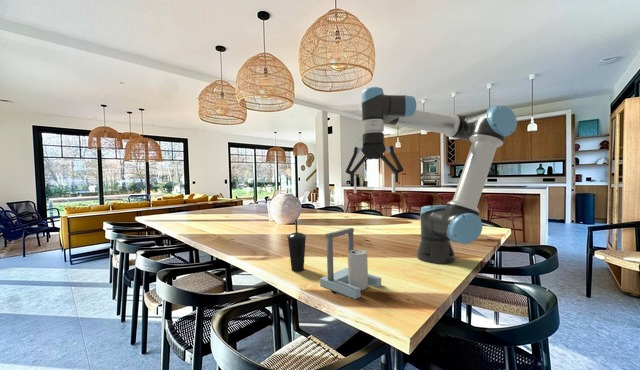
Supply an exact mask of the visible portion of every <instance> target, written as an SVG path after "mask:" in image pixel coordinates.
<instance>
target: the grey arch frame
mask: <svg viewBox="0 0 640 370" xmlns="http://www.w3.org/2000/svg"><path fill="white" fill-rule="evenodd" d="M354 232H355V229H354V227H347V228H344V229H340V230H336V231H332V232H328V233H327V232H326V234H325V239H326V260H327V261H326V262H327V263H326V265H327V269H326V270H327V275H325V276H323V277H321V278H319V283H320V284H319V285H320V287H323V288H324V289H328V290H329V291H333V292H335V293H338V294H341V295H344V296H346V297H349V298H352V299H354V300H358V298H361V291H360V288H358V287H355V286H352V285H349V281H348V267H345V268H343V269H340V270H337V271H335V272H334V246H333V245H334V244H333V243H334V242H333V241H334V238H337V237H341V236H345V235H347V253H348V254H349V251H351V250H355V246H354V244H355V243H354ZM348 254H347V255H348ZM368 286H372V287H374V288H378V287H380V286H382V277H380V276H377V275H372V274H369V273H368Z"/></svg>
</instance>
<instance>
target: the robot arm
mask: <svg viewBox="0 0 640 370" xmlns="http://www.w3.org/2000/svg"><path fill="white" fill-rule="evenodd" d="M361 117H362V118H361V119H362V120H361V123H362V125H361V127H362V129H361V131H362V133H363V134H362V146H361V147H358V146H355V147H354V148H353V154H352V157H351V159H350V160H349V163H348V165H347V167H346V169H345V173H346V174H348V175H350V184H352V185H353V194H357V174H355V173H356V172H357V170H358V169H359V168H360V167H361V166H362V165H363V164H364V162H365V161H366V160H367V159H368V160H379V159H380V160H381V161H383V163H384V164H385V165H386V166H387V168H389V169H390V170H391V172H392V173H391V192H392V193H396V183H398V182H399V173H401V172H404V168H403V166H402V164H401V162H400V160H399V158H398V156H397V155H396V152H395V149H394V146H393V145H390V146H385V134H384V133H383V132H384V131H385V129H384V126H385V125H390V126H396V127H401V128H409V129H412V130H413V129H414V130H420V131H425V132H431V133H438V134H444V135H445V136H446V137H448V138H452V139H457V140H464V141H469V142H470V143H471V145H470V148H469V151H468V154H467V157H466V161H465V162H464V163H465V164H464V166H463V169H462V172H461V175H460V177H459V180H458V183H457V186H456V190H455V192H454V195H453V198H452V200H450V201H447V203H446V204H445V205H444V204H440V205H425V206H422V207H421V208H420V214H419V215H420V242H419V245H418V247H417V249H416V250H417V251H416V258H417V259H418V260H420V261H422V262H426V263H432V264H450V263H453V262H455V261H456V255H455V251H454V248H453V246H452V243H451V242H453V243H456V244H461V245H467V244H470V243H472V242H475V241H476V240H478V238H479V237H480V236H481V234H482V231H483V224H482V219H481V217H479V216H480V213H481V212H480V210H479V208H478V206H479V205H478V204H479V202H480V199H481V195H482V192H483V191H484V187H485V184H486V182H487V181H486V180H487V178H488V175H489V173H490V169H491V166H492V163H493V161H494V157H495V154H496V151H497V148H500V147H502V146H503V145H504V142H505V140H506V137H508V136H510V135H512V134H514V132H516V130H517V126H518V119H517V116H516V115H515V113H514V111H513V110H512V109H511V108H510V107H509V106H506V105H497V106H496V105H495V106H490V107H488V108H485V109H482V110H478V111H476V112H472V113H469V114H460V115H459V114H451V115H446V114H440V113H436V112H435V113H434V112H428V111H425V110H424V111H423V110H419V109H418V110H417V100H416V98H415V97H414V96H412V95H406V94H403V95H402V94H401V95H399V94H398V95H397V94H390V95H389V94H385V93H384V89H383V88H381V87H378V86H372V87H367V88H365V89H363V90H362V93H361ZM386 151H387V153H389V155H390V156H391V159H392V161H393V163H394V164H395V166H396V167H395V166H394V165H393V164H392V162H391V161H390V160H389V159H388V158H387V157H386V155H384V153H385V152H386ZM360 152H361V153H362V154H363V156H362V158H361V159H360V160H359V161H358V163H357V164H356V165H355V166H354V167H353V169H352V166H353V164H354V162H355V160H356V158H357V155H358V154H360ZM351 169H352V170H351Z"/></svg>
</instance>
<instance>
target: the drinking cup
mask: <svg viewBox="0 0 640 370" xmlns="http://www.w3.org/2000/svg"><path fill="white" fill-rule="evenodd" d="M294 221H295V223H294V224H295V232H293V233H292V232H291V233H289V234H288V235H286V238H287V243H288V251H289V259H290V267H291V268H290V269H291V271H292V272H302V271H304V269H305V255H306V254H305V253H306V241H307V240H306V238H307V235H306V234H305V233H302V232H298V219H295V220H294Z"/></svg>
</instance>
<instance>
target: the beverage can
mask: <svg viewBox="0 0 640 370" xmlns="http://www.w3.org/2000/svg"><path fill="white" fill-rule="evenodd" d="M347 268H348V281H349V282H348V284H349V285H352V286H355V287H358V288H360V292H361V291H365V290H366V289H367V288H368V287H369V285H368V274H369V273H368V272H369V269H368V268H369V267H368V255H367V251H366V250H363V249H354V250H351V251H349V254H347Z"/></svg>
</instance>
